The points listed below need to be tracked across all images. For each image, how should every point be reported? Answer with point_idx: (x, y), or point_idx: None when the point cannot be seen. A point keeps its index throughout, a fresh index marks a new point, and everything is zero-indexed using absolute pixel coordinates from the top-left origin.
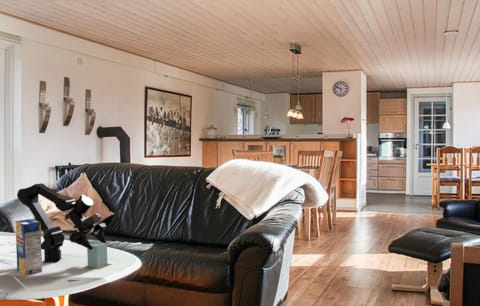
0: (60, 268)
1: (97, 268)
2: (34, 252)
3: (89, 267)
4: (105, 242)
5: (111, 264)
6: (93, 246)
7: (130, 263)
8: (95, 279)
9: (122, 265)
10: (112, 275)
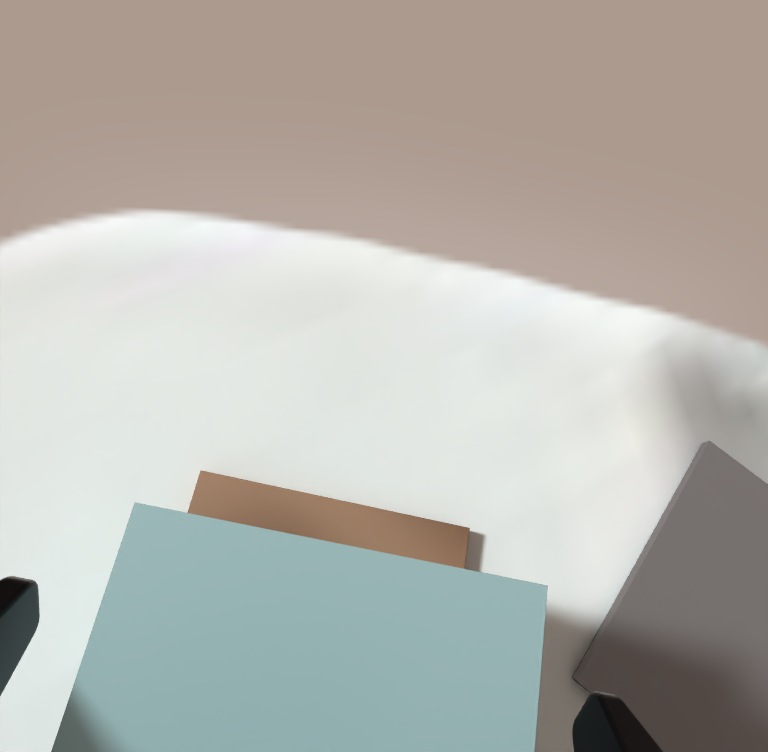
0: None
1: None
2: None
3: None
4: (9, 610)
5: (218, 474)
6: (534, 723)
7: (90, 286)
8: (729, 405)
9: (189, 346)
10: (566, 298)
